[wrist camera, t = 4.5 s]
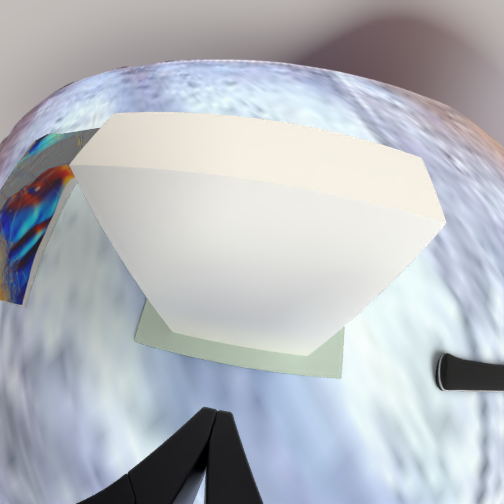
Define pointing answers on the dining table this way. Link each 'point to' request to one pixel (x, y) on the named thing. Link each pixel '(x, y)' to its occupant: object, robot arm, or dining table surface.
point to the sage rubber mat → (241, 350)
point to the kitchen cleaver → (468, 375)
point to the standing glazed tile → (255, 222)
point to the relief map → (34, 208)
